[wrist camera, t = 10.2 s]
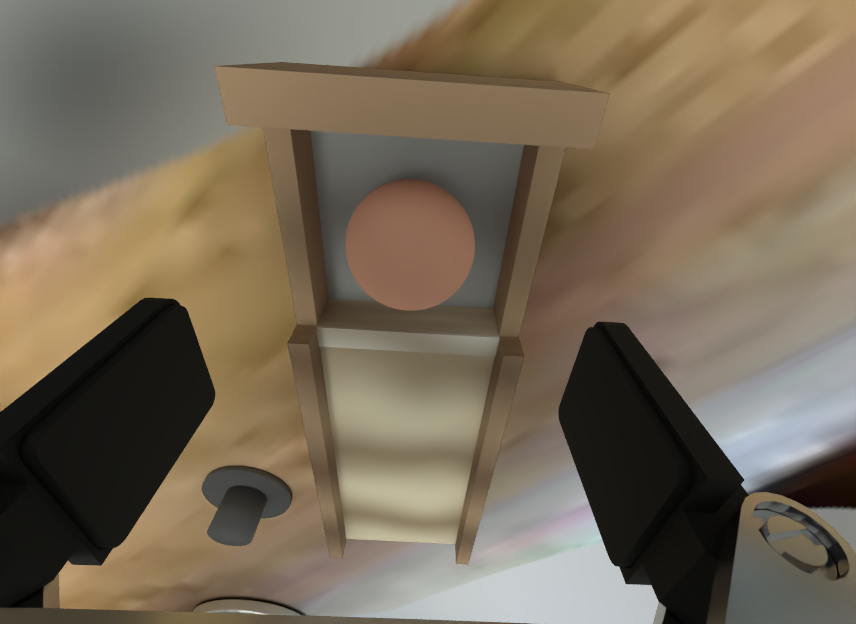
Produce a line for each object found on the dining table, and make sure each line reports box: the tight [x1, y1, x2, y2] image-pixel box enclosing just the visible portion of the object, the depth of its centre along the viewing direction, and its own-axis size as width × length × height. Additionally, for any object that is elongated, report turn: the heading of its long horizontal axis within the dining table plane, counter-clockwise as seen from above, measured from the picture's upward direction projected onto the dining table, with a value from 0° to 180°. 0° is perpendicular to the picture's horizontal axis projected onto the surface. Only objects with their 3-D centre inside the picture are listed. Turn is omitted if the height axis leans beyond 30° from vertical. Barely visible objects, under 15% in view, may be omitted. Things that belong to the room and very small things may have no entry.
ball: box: [346, 179, 475, 311], centre depth 13 cm, size 4×4×4 cm
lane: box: [288, 299, 524, 564], centre depth 21 cm, size 18×9×4 cm, turn 177°
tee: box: [202, 466, 292, 546], centre depth 25 cm, size 6×6×3 cm
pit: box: [214, 62, 610, 337], centre depth 13 cm, size 9×9×4 cm
